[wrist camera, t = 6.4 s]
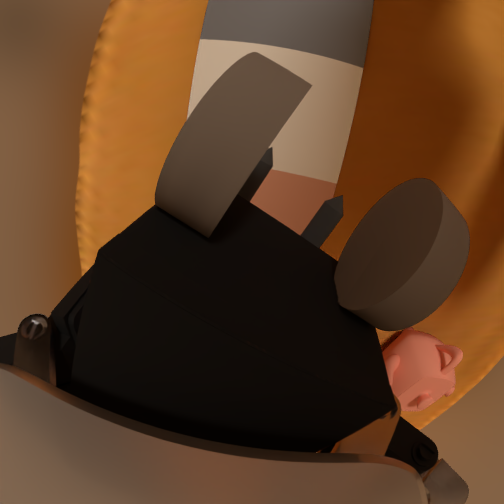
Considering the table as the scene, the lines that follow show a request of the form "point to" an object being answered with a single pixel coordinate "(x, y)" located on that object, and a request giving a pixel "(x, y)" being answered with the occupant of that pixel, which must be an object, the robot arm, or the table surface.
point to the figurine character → (257, 288)
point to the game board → (306, 67)
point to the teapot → (420, 369)
